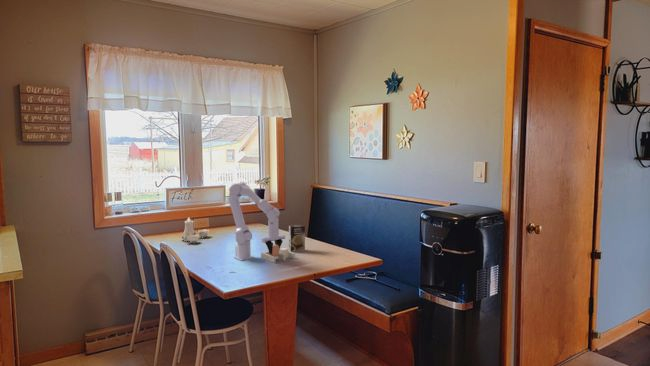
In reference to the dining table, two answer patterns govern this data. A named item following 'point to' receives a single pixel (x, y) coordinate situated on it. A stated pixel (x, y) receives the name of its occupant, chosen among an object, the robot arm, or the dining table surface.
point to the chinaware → (192, 232)
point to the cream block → (284, 252)
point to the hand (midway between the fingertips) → (274, 253)
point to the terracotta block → (275, 251)
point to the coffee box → (296, 238)
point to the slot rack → (277, 259)
